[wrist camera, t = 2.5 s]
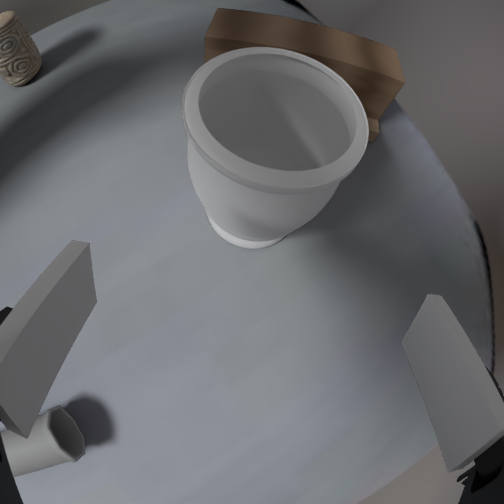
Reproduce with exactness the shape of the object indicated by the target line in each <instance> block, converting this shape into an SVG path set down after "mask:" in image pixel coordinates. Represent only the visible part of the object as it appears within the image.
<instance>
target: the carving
mask: <svg viewBox="0 0 504 504" xmlns="http://www.w3.org/2000/svg"><path fill="white" fill-rule="evenodd" d="M41 65H42V57H41V55H40V53H39V50H38V48H37V46H36V45H35V42H34V41H33V40H32V38H31V37H30V35H29V34H28V31H27V30H26V28H24V26H23V25H22V23H21V21H20V20H19V17H18V15H17V14H16V13H15V12H13V11H7V12H4V13H1V14H0V77H1V78H2V79H3V80H4V81H5V82H6V83H7V84H8V85H9V86H13V87H18V86H21V85H24V84H25V83H27V82H28V81H29V80H31V79H32V78H33V77H34V76H35V75H36V74H37V72H38V71H39V69H40V67H41Z"/></svg>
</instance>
